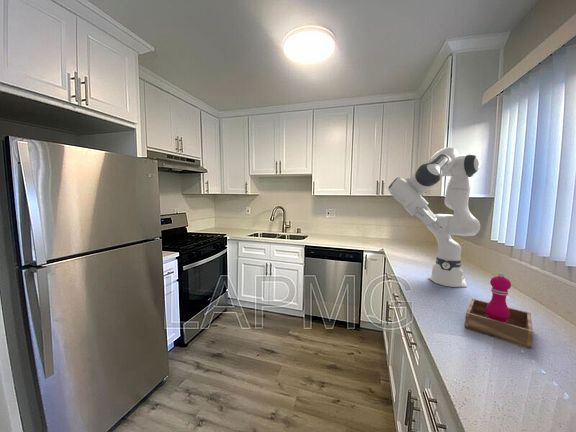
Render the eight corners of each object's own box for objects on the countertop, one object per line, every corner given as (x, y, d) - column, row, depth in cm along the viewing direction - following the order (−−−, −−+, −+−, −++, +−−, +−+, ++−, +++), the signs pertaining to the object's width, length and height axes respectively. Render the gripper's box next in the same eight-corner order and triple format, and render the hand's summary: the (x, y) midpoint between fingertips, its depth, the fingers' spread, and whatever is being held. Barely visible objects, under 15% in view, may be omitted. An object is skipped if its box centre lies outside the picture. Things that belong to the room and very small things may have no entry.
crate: (470, 311, 107) (472, 298, 106) (528, 327, 95) (530, 312, 94) (464, 328, 93) (465, 312, 93) (531, 349, 81) (533, 331, 81)
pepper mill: (483, 323, 95) (488, 272, 93) (485, 316, 101) (490, 268, 99) (508, 330, 90) (514, 277, 89) (508, 323, 96) (514, 272, 94)
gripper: (421, 203, 101) (447, 228, 97) (425, 202, 119) (447, 224, 114) (408, 213, 104) (433, 238, 100) (414, 210, 121) (435, 232, 117)
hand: (441, 230), depth 107 cm, fingers open, 8 cm apart
